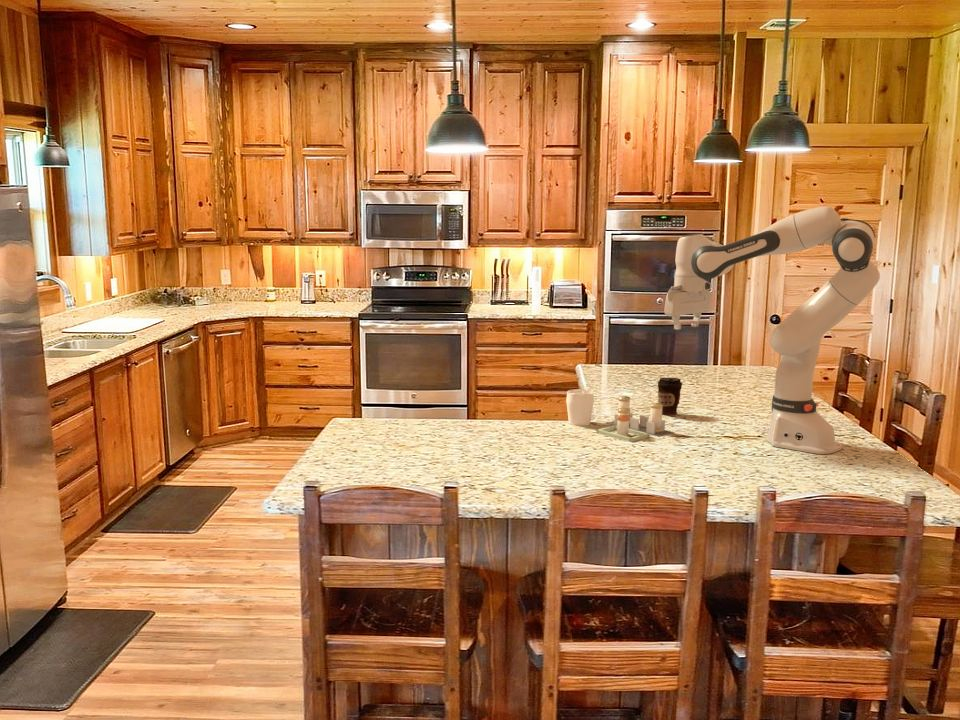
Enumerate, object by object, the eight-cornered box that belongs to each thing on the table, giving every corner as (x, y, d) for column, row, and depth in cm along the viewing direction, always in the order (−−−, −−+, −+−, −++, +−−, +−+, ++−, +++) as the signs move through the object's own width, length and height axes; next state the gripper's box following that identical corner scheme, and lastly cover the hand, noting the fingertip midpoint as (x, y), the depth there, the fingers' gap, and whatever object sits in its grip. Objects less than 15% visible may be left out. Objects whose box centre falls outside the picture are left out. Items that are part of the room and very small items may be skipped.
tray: (649, 441, 269) (649, 433, 269) (631, 446, 263) (631, 438, 263) (614, 432, 280) (614, 425, 279) (596, 437, 274) (596, 429, 273)
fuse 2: (663, 431, 275) (664, 404, 273) (656, 433, 273) (657, 406, 271) (654, 429, 278) (655, 402, 276) (647, 431, 275) (648, 404, 274)
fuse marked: (630, 437, 271) (632, 409, 270) (623, 439, 269) (625, 411, 267) (621, 434, 274) (623, 407, 272) (614, 436, 271) (615, 408, 270)
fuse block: (674, 436, 275) (675, 421, 274) (659, 441, 269) (659, 425, 269) (620, 423, 291) (620, 409, 290) (604, 427, 286) (605, 413, 285)
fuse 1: (631, 424, 284) (632, 397, 283) (624, 425, 282) (625, 399, 280) (622, 421, 287) (623, 395, 286) (615, 423, 285) (616, 397, 283)
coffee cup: (673, 418, 298) (675, 382, 296) (651, 415, 303) (653, 379, 300) (684, 414, 305) (686, 378, 302) (662, 410, 310) (664, 375, 307)
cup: (561, 428, 284) (562, 393, 282) (571, 422, 292) (572, 388, 290) (587, 432, 280) (588, 396, 278) (596, 425, 288) (597, 390, 286)
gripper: (677, 287, 264) (675, 332, 267) (714, 283, 278) (712, 326, 280) (660, 286, 269) (658, 329, 272) (698, 282, 283) (695, 324, 285)
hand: (686, 327), depth 276 cm, fingers open, 8 cm apart
